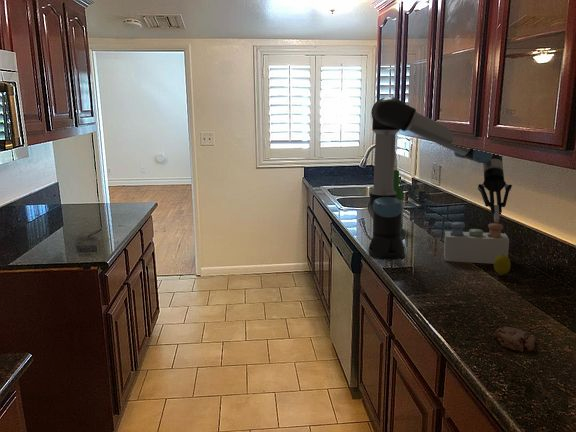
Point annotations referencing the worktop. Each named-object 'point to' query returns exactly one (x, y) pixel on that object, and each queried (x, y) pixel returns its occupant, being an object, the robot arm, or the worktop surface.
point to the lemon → (502, 264)
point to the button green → (475, 233)
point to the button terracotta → (495, 230)
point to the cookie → (515, 339)
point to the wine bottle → (398, 191)
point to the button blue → (457, 228)
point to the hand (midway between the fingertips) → (496, 220)
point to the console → (474, 248)
